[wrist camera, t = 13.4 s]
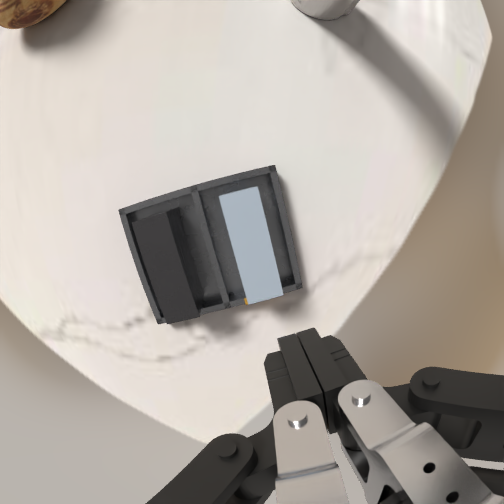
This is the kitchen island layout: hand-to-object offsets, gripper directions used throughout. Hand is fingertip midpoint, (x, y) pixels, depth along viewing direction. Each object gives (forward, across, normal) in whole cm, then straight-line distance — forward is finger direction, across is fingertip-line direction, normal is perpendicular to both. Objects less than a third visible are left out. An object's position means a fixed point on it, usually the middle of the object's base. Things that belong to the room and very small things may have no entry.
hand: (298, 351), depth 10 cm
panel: (+26, 0, 0) cm, 26 cm away
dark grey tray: (+26, +5, 0) cm, 27 cm away
